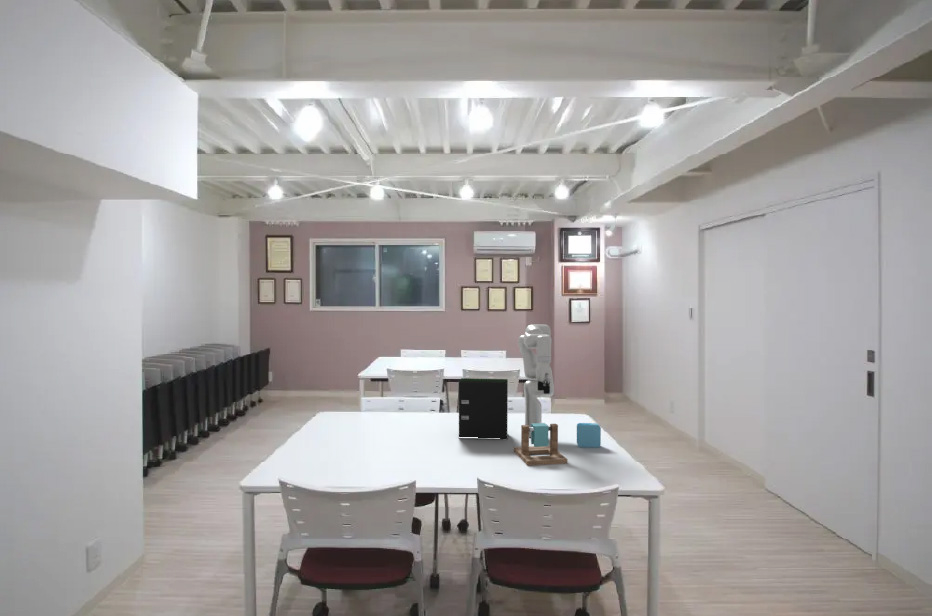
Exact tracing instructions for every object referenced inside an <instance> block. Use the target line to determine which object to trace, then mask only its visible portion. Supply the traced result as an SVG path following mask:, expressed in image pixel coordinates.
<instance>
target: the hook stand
mask: <svg viewBox="0 0 932 616" xmlns="http://www.w3.org/2000/svg"><path fill="white" fill-rule="evenodd" d="M520 429H521V434H520V435H521V436H520V437H521V439H520V440H521V441H520V444H521V445H520V446H517V447H516V446H514V447H513V452H514V453H515V454H516V455H517V456H518V457H519V458H520V459H521V460H522V462H523V463H524V464H525V465H526V466H541V465H559V464H560V465H561V464H568V458H567V457H566V456H564V455H563V454H562V453H561V452H560V451H558V449H559V425H558V424H557V423H550V424H549V426H548V432H549V445H548V446H545V447H534V445H532V446H530V437H529V432H531V431H534V428H533V427H529V426H528V425H525V424H522V425H521V428H520ZM541 454H543V455H541ZM545 454H548V455H545ZM531 455H534V456H531Z"/></svg>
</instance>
